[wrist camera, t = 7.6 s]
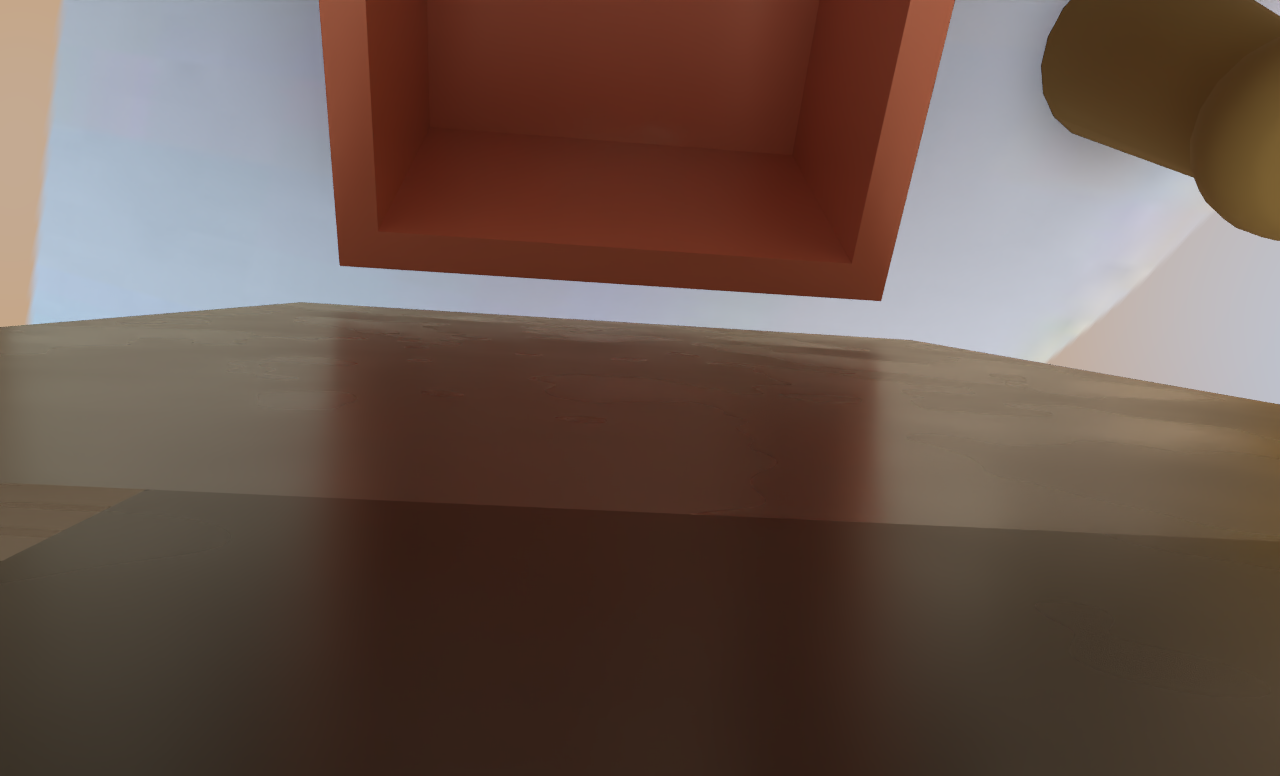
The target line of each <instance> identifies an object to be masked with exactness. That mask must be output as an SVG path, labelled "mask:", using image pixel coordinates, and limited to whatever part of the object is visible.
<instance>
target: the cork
mask: <svg viewBox="0 0 1280 776" xmlns="http://www.w3.org/2000/svg"><path fill="white" fill-rule="evenodd" d="M1041 70H1042V83H1043V94H1044V96H1045V99H1046V101H1047V103H1048V105H1049V107H1050V109H1051V112H1052V114H1053V116H1054V117H1055V118H1056V119H1057V120H1058V121H1059V122H1060V123H1061V124H1062V125H1064V126H1065V127H1066V128H1067V129H1068V130H1069V131H1070V132H1071V133H1073V134H1076V135H1079V136H1081V137H1084V138H1087V139H1090V140H1092V141H1095V142H1098V143H1101V144H1103V145H1106V146H1109V147H1111V148H1114V149H1117V150H1120V151H1122V152H1125V153H1128V154H1131V155H1133V156H1136V157H1139V158H1142V159H1144V160H1147V161H1150V162H1153V163H1155V164H1158V165H1161V166H1164V167H1166V168H1169V169H1172V170H1174V171H1177V172H1180V173H1183V174H1185V175H1188V176H1191V177H1194V179H1195V181H1196V184H1197V186H1198V189H1199V191H1200V193H1201V194H1202V196H1203V198H1204V199H1205V201H1206V202H1207V203H1208V204H1209V205H1210V206H1211V207H1212V208H1213V209H1214V210H1215V211H1216V212H1217V213H1218V214H1219V215H1220V216H1221V217H1222V218H1223V219H1225V220H1226V221H1227V222H1229V223H1230V224H1232V225H1233V226H1234V227H1236V228H1238V229H1241V230H1244V231H1247V232H1250V233H1252V234H1255V235H1258V236H1261V237H1264V238H1268V239H1272V240H1277V241H1280V16H1279V15H1277V14H1275V13H1274V12H1272V11H1271V10H1269V9H1267V8H1266V7H1264V6H1263V5H1261V4H1259V3H1258V2H1256V1H1255V0H1071V1H1070V2H1069V3H1068V4H1067V5H1066V6H1065V7H1064V8H1063V10H1062V12H1061V14H1060V16H1059V18H1058V20H1057V21H1056V23H1055V25H1054V27H1053V29H1052V31H1051V32H1050V34H1049V36H1048V39H1047V44H1046V48H1045V52H1044V57H1043V61H1042V65H1041Z"/></svg>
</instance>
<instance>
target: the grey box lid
mask: <svg viewBox="0 0 1280 776" xmlns="http://www.w3.org/2000/svg"><path fill="white" fill-rule="evenodd" d="M0 776H1280V404H1274V403H1267V402H1262V401H1257V400H1251V399H1245V398H1239V397H1234V396H1228V395H1222V394H1216V393H1211V392H1205V391H1199V390H1194V389H1188V388H1182V387H1177V386H1171V385H1165V384H1159V383H1154V382H1148V381H1142V380H1136V379H1131V378H1125V377H1119V376H1113V375H1108V374H1102V373H1096V372H1090V371H1084V370H1079V369H1073V368H1067V367H1062V366H1056V365H1051V364H1045V363H1039V362H1033V361H1028V360H1022V359H1016V358H1011V357H1005V356H999V355H993V354H988V353H982V352H976V351H971V350H965V349H959V348H953V347H948V346H942V345H936V344H930V343H925V342H919V341H913V340H901V339H885V338H869V337H853V336H837V335H821V334H805V333H789V332H772V331H756V330H740V329H724V328H708V327H692V326H676V325H660V324H643V323H627V322H611V321H595V320H579V319H563V318H547V317H530V316H514V315H498V314H482V313H466V312H450V311H434V310H418V309H401V308H385V307H369V306H353V305H337V304H321V303H305V302H298V303H286V304H274V305H262V306H250V307H238V308H226V309H214V310H202V311H190V312H178V313H166V314H154V315H142V316H130V317H117V318H105V319H93V320H81V321H69V322H57V323H45V324H33V325H21V326H10V327H0Z"/></svg>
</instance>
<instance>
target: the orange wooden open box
mask: <svg viewBox="0 0 1280 776" xmlns="http://www.w3.org/2000/svg"><path fill="white" fill-rule="evenodd" d="M954 2H955V0H319V8H320V21H321V33H322V46H323V59H324V71H325V84H326V97H327V110H328V122H329V135H330V148H331V161H332V173H333V186H334V199H335V211H336V224H337V237H338V250H339V262H340V266H352V267H368V268H383V269H398V270H414V271H429V272H444V273H460V274H475V275H490V276H506V277H521V278H536V279H552V280H567V281H582V282H598V283H613V284H628V285H644V286H659V287H674V288H690V289H705V290H720V291H736V292H751V293H766V294H782V295H797V296H812V297H828V298H843V299H858V300H874V301H881V299H882V295H883V291H884V287H885V283H886V279H887V274H888V270H889V266H890V262H891V258H892V254H893V250H894V246H895V242H896V238H897V234H898V230H899V226H900V222H901V218H902V214H903V209H904V205H905V201H906V197H907V193H908V189H909V185H910V181H911V177H912V173H913V169H914V165H915V161H916V157H917V153H918V149H919V144H920V140H921V136H922V132H923V128H924V124H925V120H926V116H927V112H928V108H929V104H930V100H931V96H932V92H933V88H934V84H935V80H936V75H937V71H938V67H939V63H940V59H941V55H942V51H943V47H944V43H945V39H946V35H947V31H948V27H949V23H950V19H951V15H952V10H953V6H954Z"/></svg>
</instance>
